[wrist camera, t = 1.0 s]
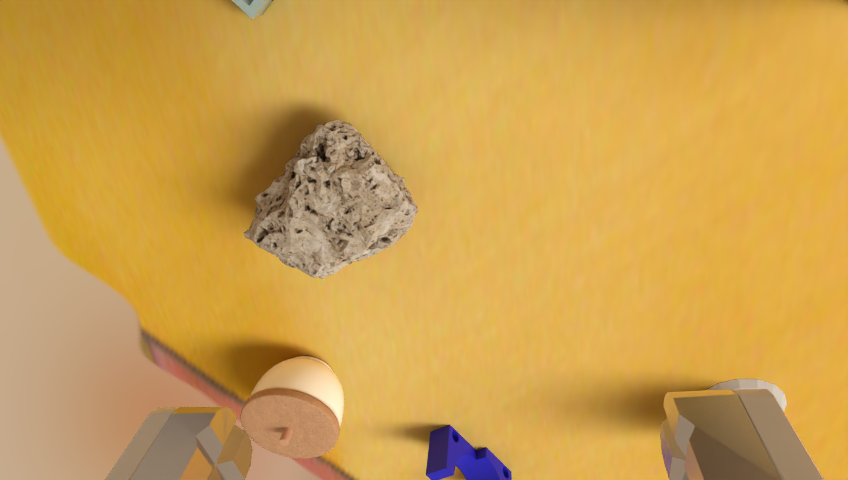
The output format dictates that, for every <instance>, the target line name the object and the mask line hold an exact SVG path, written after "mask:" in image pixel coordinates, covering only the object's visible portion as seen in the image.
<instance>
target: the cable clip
mask: <svg viewBox="0 0 848 480" xmlns="http://www.w3.org/2000/svg"><path fill="white" fill-rule="evenodd" d="M455 466H457V467H458V468H459V469H460V470H461V472H462V473H463V474H464V476H465V478H466V480H511V471H510V470H509V469H508V468H507V467H506V466H505V465H504V464H503V463H502V462H501V461H500V460H499V459H498V458H497V457H496V456H495V455H494V454H493V453H492V452H490V451H489V450H488V449H487V448H483V449H480V450H477V451H476V450H475V449H474V448H473V447H472V446H471V445H470V444H469V443H468V442H467V441H466V440H465V439H464V438H463V437H462V436H461V435H460V434H459V433H458V432H457V431H456V430H455V429H454V428H453V427H452V426H450V425H448V426H445V427H443V428H440V429H437V430H435V431H432V432H431V433H430V442H429V451H428V460H427V469H426V475H427V476H428V477H429V478H430V479H431V480H440V479H443V478H446V477H449V476H452V475H454V471H455Z"/></svg>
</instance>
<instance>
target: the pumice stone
mask: <svg viewBox="0 0 848 480" xmlns="http://www.w3.org/2000/svg"><path fill="white" fill-rule="evenodd" d="M285 167H286V170H285V173H284V174H283V175H282V176H280V177H278V178H276V179H274V180H273V182H272V184H271V185H270V186H269V187H268V189H267V190H265V191H263V192H261V193H260V194H258V195H257V196H256V197H255V198H254V199H255V201H256V202H257V204H258V205H257V208H256V212H255V218H254V220H253V221H252V223H251V226H250V228H249V230H247V231H246V232H244V235H245V238H248V239H250V240H252V241H253V242H254V243H255V244H256V245H257V246H259V247H260V248H262V249H264V250H266V251H268V252H270V253H272V254H273V255H275V256H276V257H278V258H279V259H280V260H281V261H282V262H283V263H284V264H285V265H288V266H290V267H293V268H298V269H299V270H301V271H302V272H304V273H306V274H308V275H310V276H311V277H313V278H314V277H319V278H321V279H322V278H324V277H326V276H328V275H331V274H334V273H337V272H338V271H339V270H340V269H341V268H343V267H344V266H346V265H347V264H351V263H352V262H354V261H359V260H363V259H366V258H367V257H368V256H370V257H372V256H373V255H375V254H377V253H378V252H380V251H382V250H384V249H386V248H388V247H391V246H392V245H394V244H395V243H396V242H397V241H398V240H399V239H400V237H401V236H402V235H404V234H405V233H407V232H408V231H409V230H410V228H411V226H412V225H413V219H414V217H415V215H416V214H417V212H418V209H417V206H416V204H415V203H414V201H413V199H412V197H411V194H410V192H409V191H408V190H407V189H406V187H405V182H404V178H403V177H400V176H398V175H396V174H393V172H392V171H391V169H390V168H389V167H388V166H387V165H386V164H385V161H384V159H380V158H379V155H378V154H377V153H376V152H375V151H374V150H373V149H372V147H370V145H369V144H368V143H367V142H366V141H365V139H364V138H362V136H361V135H360V134H359V132H358V131H357V130H356V129H355V128H354V127H353V126H352V125H351V124H349V123H346V122H341V121H340V120H335V121H331V122H328V123H326V124H323V125H317V127H316V129H315V130H314V132H313V133H312V134H308V135H307V136H306V137H305V138H304V139H303V140H302V143H301V145H300V149H299V150H298V151H297V153H296V155H295V156H294V157H293V158H292V159H290V160H289V161H288V162H287V163H286V164H285Z"/></svg>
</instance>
